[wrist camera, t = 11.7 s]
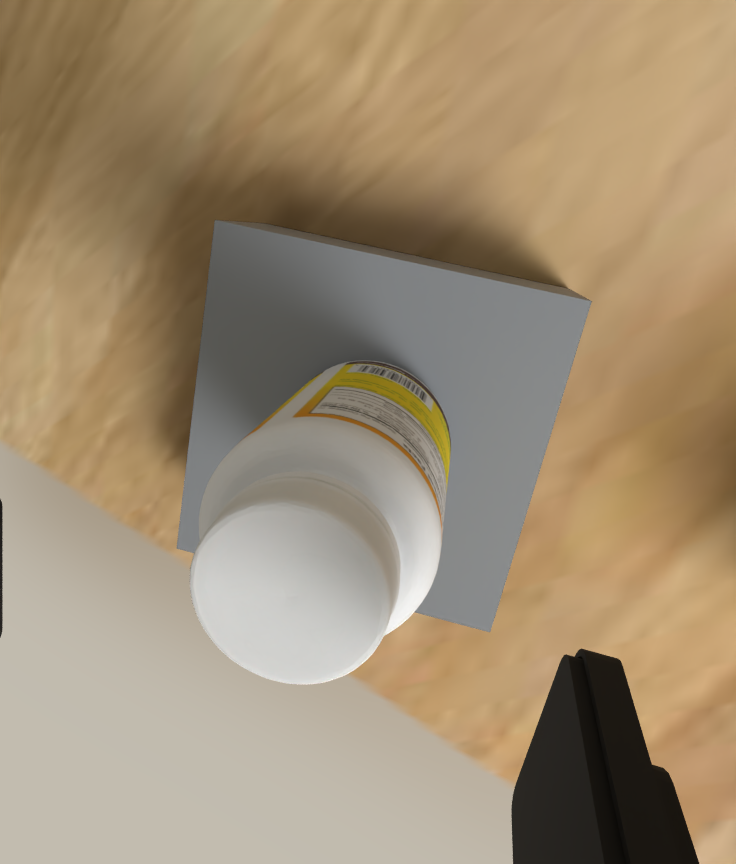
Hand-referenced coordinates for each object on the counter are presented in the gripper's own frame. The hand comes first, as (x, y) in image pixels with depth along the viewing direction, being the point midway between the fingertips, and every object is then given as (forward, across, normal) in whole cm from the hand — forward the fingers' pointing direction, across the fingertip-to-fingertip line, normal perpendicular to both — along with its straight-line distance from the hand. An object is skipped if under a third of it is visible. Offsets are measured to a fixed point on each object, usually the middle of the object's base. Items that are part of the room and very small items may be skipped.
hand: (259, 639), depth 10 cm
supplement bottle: (+12, 0, +1) cm, 12 cm away
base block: (+17, +1, +1) cm, 17 cm away
